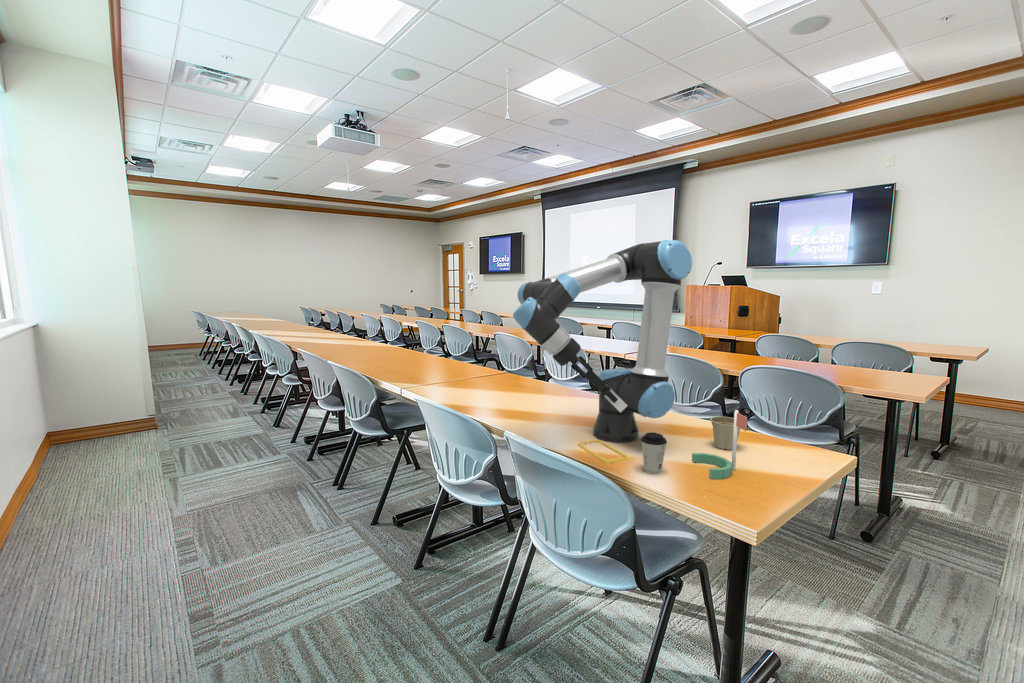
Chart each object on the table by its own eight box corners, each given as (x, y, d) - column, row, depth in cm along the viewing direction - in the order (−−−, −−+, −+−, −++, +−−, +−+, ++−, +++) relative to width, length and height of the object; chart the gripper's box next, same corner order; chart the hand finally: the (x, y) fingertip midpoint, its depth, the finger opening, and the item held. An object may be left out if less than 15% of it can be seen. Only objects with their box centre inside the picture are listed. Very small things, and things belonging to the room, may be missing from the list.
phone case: (598, 443, 149) (598, 439, 149) (630, 461, 133) (630, 457, 133) (576, 446, 146) (576, 442, 145) (606, 465, 130) (606, 461, 130)
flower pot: (745, 446, 144) (747, 420, 143) (736, 454, 137) (738, 426, 136) (714, 440, 150) (716, 414, 149) (704, 447, 143) (706, 420, 142)
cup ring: (691, 461, 132) (692, 453, 131) (718, 461, 132) (718, 452, 131) (711, 479, 119) (711, 470, 119) (740, 478, 119) (740, 469, 119)
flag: (730, 468, 126) (733, 409, 124) (734, 468, 126) (737, 409, 124) (741, 477, 120) (745, 415, 118) (745, 477, 120) (748, 415, 118)
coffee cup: (669, 475, 122) (670, 439, 120) (643, 475, 122) (644, 439, 121) (661, 465, 129) (662, 431, 127) (636, 465, 129) (637, 431, 128)
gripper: (548, 351, 130) (604, 407, 132) (554, 361, 112) (619, 425, 114) (566, 333, 129) (622, 389, 131) (576, 340, 112) (640, 405, 114)
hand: (621, 406), depth 123 cm, fingers open, 4 cm apart
